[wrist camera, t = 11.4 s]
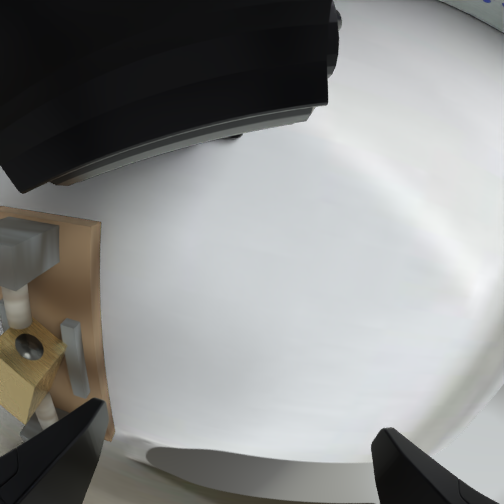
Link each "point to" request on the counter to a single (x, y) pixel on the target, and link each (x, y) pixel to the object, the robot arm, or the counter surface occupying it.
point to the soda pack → (482, 10)
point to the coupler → (28, 368)
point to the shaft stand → (56, 303)
